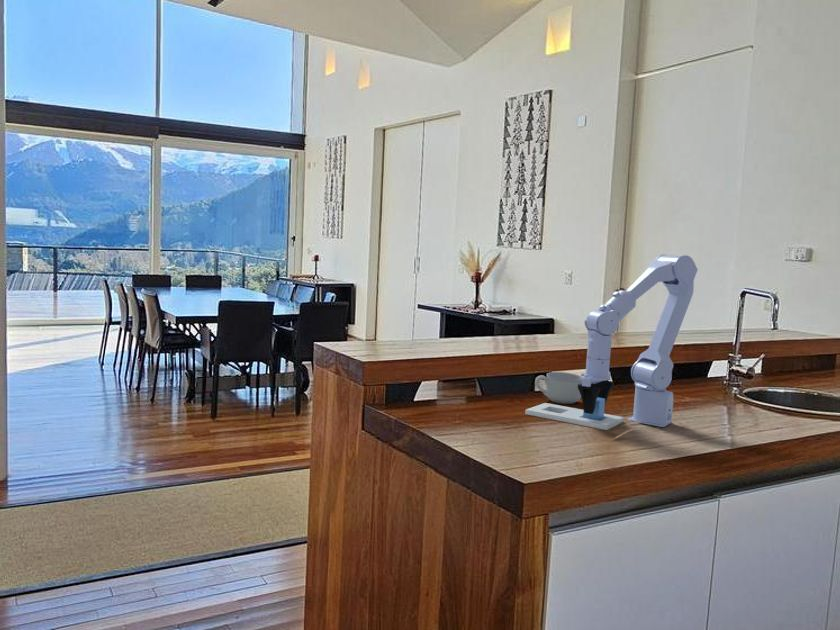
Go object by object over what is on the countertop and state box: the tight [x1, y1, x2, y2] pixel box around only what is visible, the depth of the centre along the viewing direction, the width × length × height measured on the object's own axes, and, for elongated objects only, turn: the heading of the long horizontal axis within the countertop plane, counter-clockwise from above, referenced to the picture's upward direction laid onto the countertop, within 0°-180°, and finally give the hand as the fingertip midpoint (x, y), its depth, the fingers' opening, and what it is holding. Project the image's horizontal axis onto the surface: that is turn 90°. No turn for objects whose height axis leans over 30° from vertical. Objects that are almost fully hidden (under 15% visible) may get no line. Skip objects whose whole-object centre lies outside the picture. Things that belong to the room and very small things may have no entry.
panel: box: [524, 402, 625, 431], centre depth 185 cm, size 22×12×2 cm, turn 55°
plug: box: [583, 397, 606, 421], centre depth 181 cm, size 4×4×6 cm
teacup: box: [534, 371, 584, 405], centre depth 205 cm, size 14×11×8 cm
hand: (594, 410), depth 181 cm, fingers open, 7 cm apart
